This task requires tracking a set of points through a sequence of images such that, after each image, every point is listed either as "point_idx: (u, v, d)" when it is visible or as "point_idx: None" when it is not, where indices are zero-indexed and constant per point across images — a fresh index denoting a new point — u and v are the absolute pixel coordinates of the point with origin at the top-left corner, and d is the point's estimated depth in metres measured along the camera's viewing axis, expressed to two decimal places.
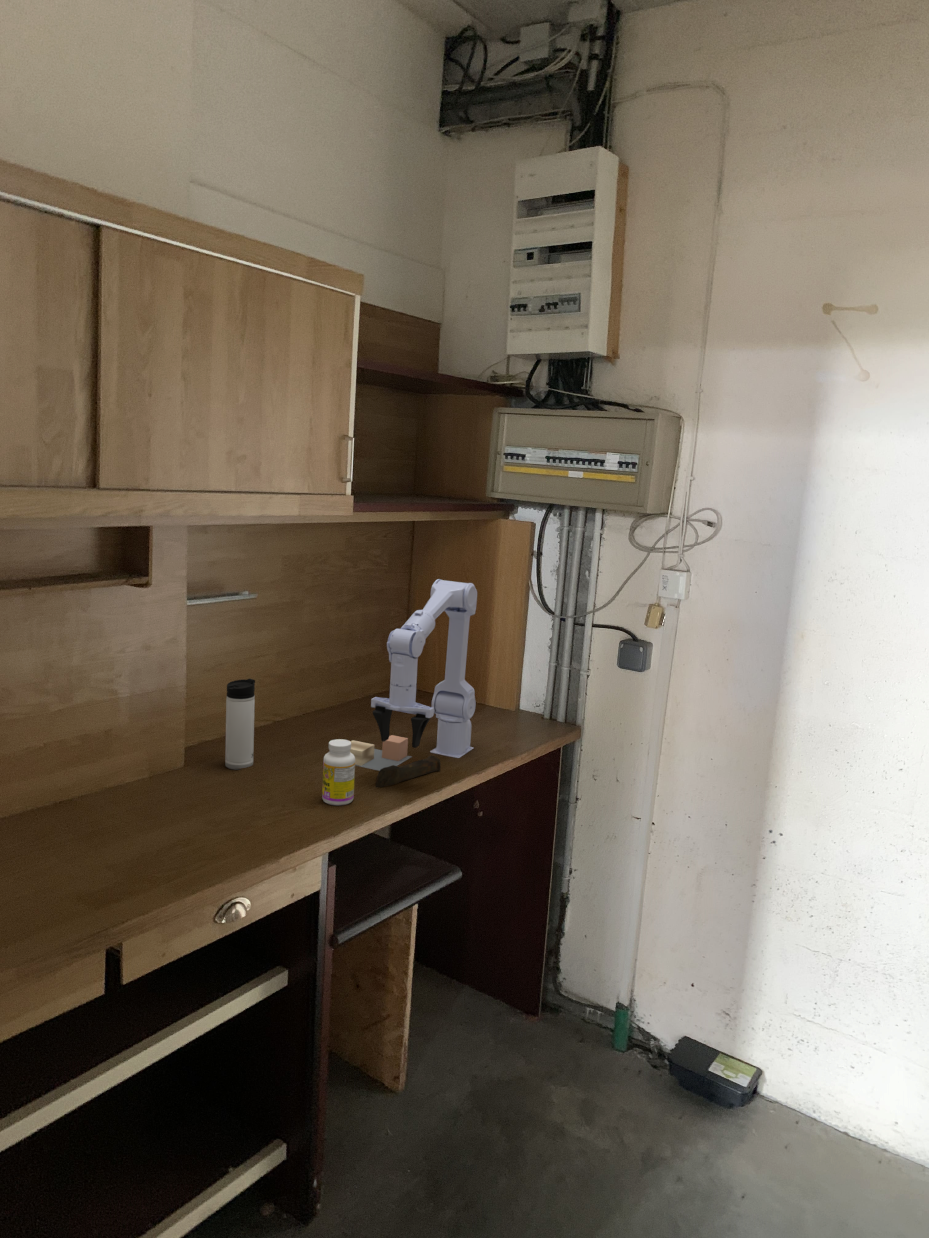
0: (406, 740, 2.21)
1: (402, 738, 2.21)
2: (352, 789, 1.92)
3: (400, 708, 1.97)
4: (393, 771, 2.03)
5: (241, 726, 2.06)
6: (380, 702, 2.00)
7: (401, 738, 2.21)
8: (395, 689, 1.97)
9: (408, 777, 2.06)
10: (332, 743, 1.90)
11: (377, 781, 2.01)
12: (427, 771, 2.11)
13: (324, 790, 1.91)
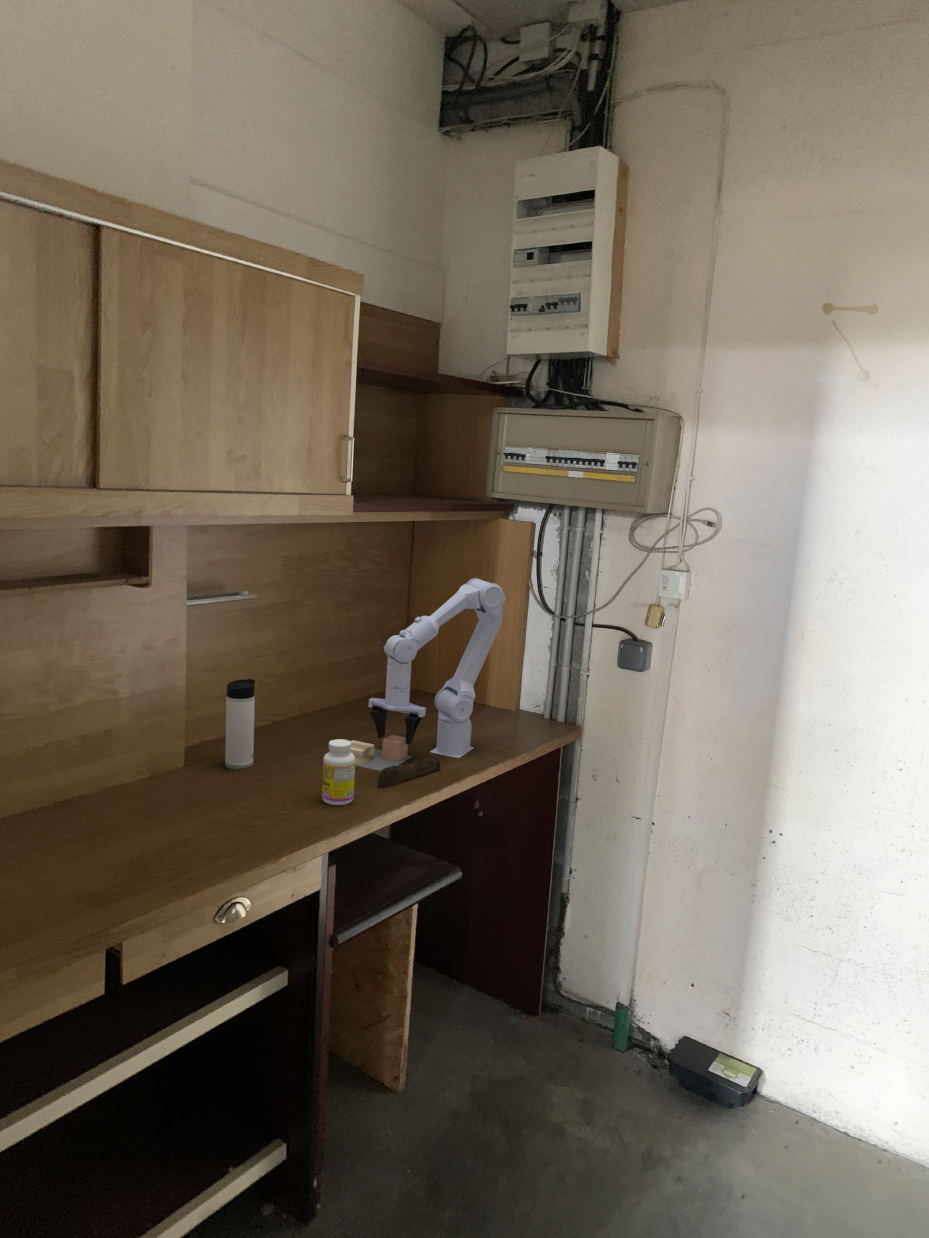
0: None
1: (402, 738, 2.21)
2: (352, 789, 1.92)
3: (395, 708, 2.16)
4: (394, 772, 2.02)
5: (241, 726, 2.06)
6: (377, 702, 2.19)
7: (401, 738, 2.21)
8: (390, 691, 2.16)
9: (409, 777, 2.06)
10: (332, 743, 1.90)
11: (379, 781, 2.00)
12: (427, 771, 2.11)
13: (324, 790, 1.91)
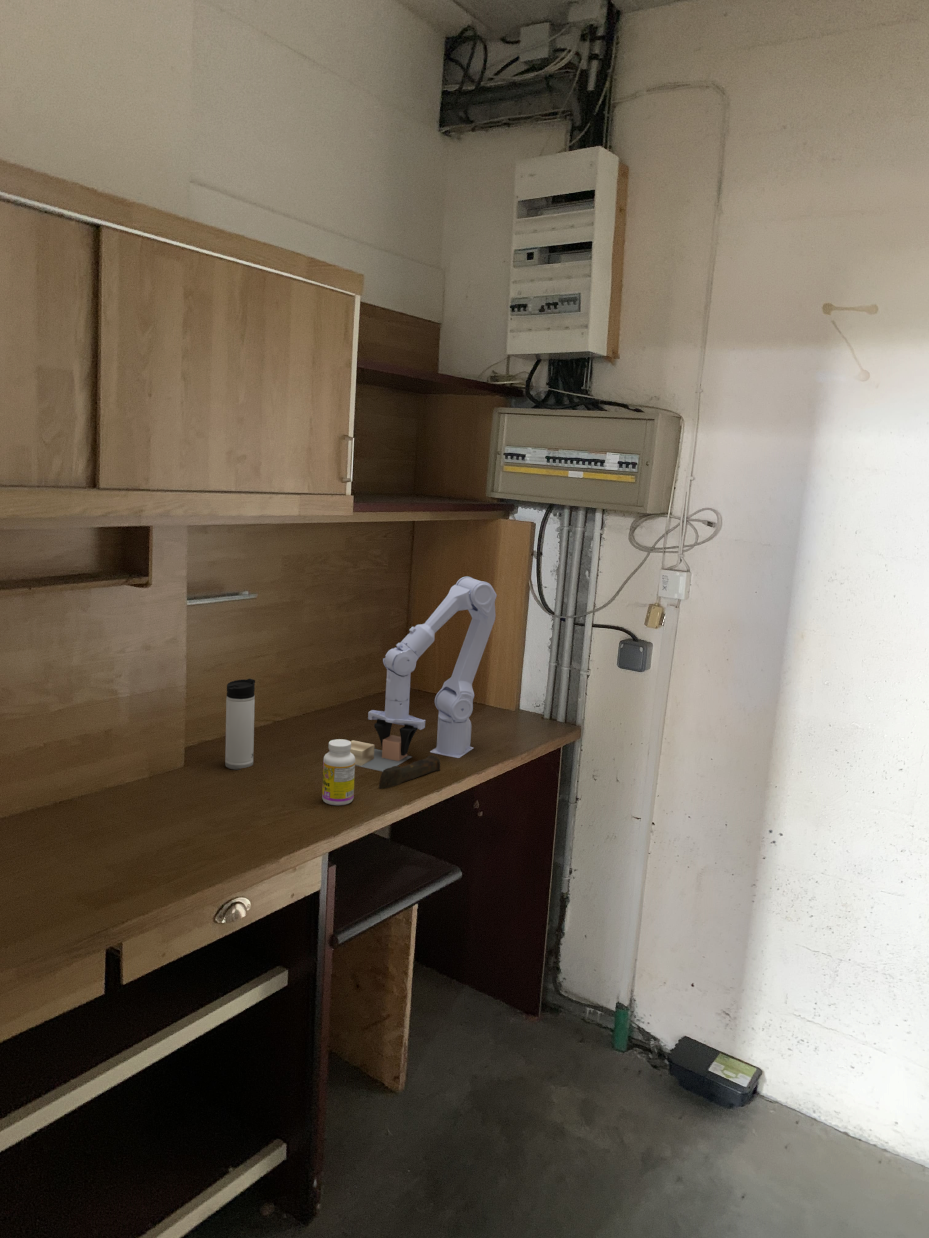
0: None
1: None
2: (352, 789, 1.92)
3: (394, 720, 2.16)
4: (395, 772, 2.02)
5: (241, 726, 2.06)
6: (376, 715, 2.20)
7: None
8: (390, 703, 2.17)
9: (410, 777, 2.06)
10: (332, 743, 1.90)
11: (380, 782, 2.00)
12: (427, 771, 2.11)
13: (324, 790, 1.91)
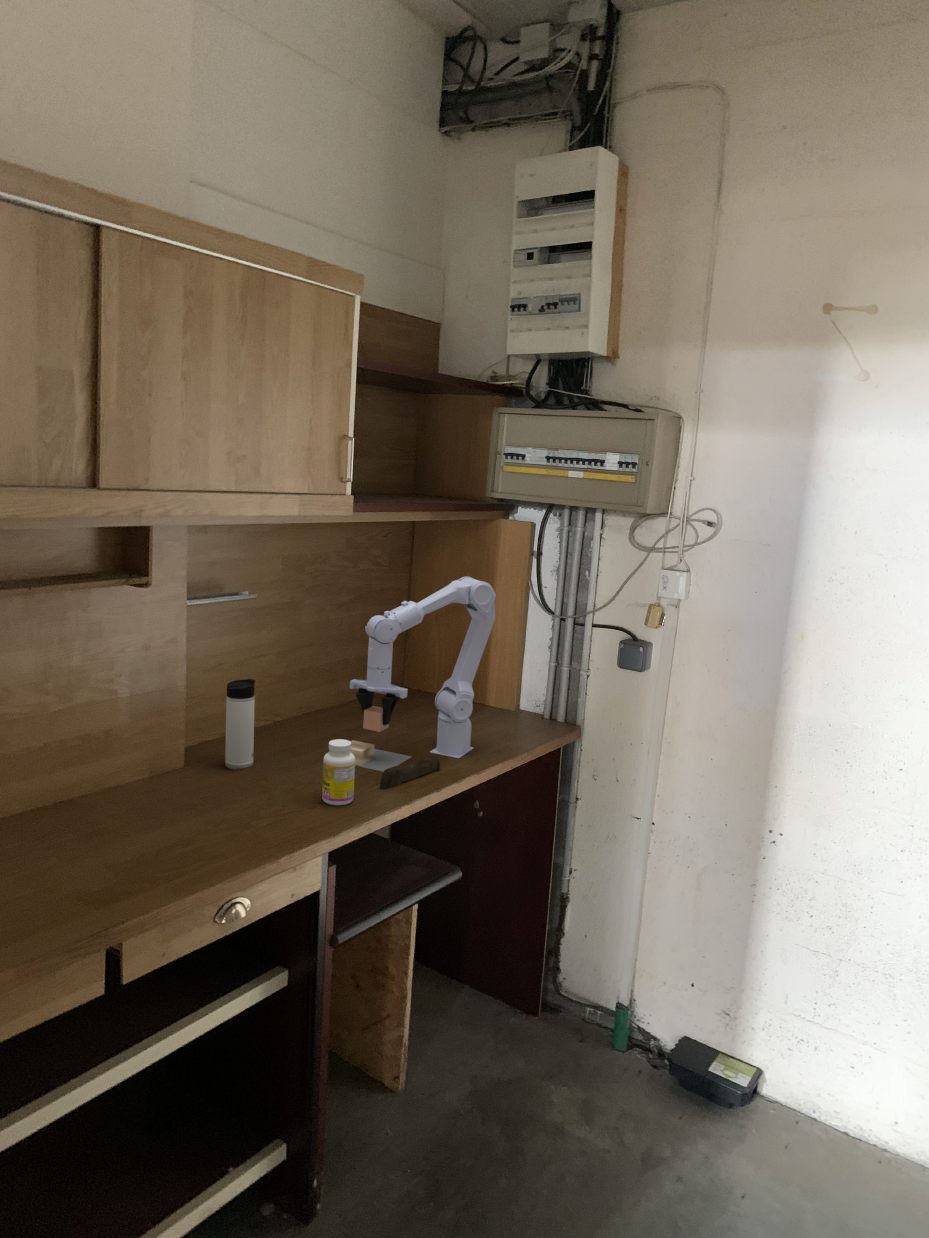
0: None
1: None
2: (352, 789, 1.92)
3: (376, 689, 2.13)
4: (396, 772, 2.02)
5: (241, 726, 2.06)
6: (358, 684, 2.17)
7: None
8: (372, 671, 2.13)
9: (410, 777, 2.06)
10: (332, 743, 1.90)
11: (381, 782, 2.00)
12: (427, 771, 2.11)
13: (324, 790, 1.91)
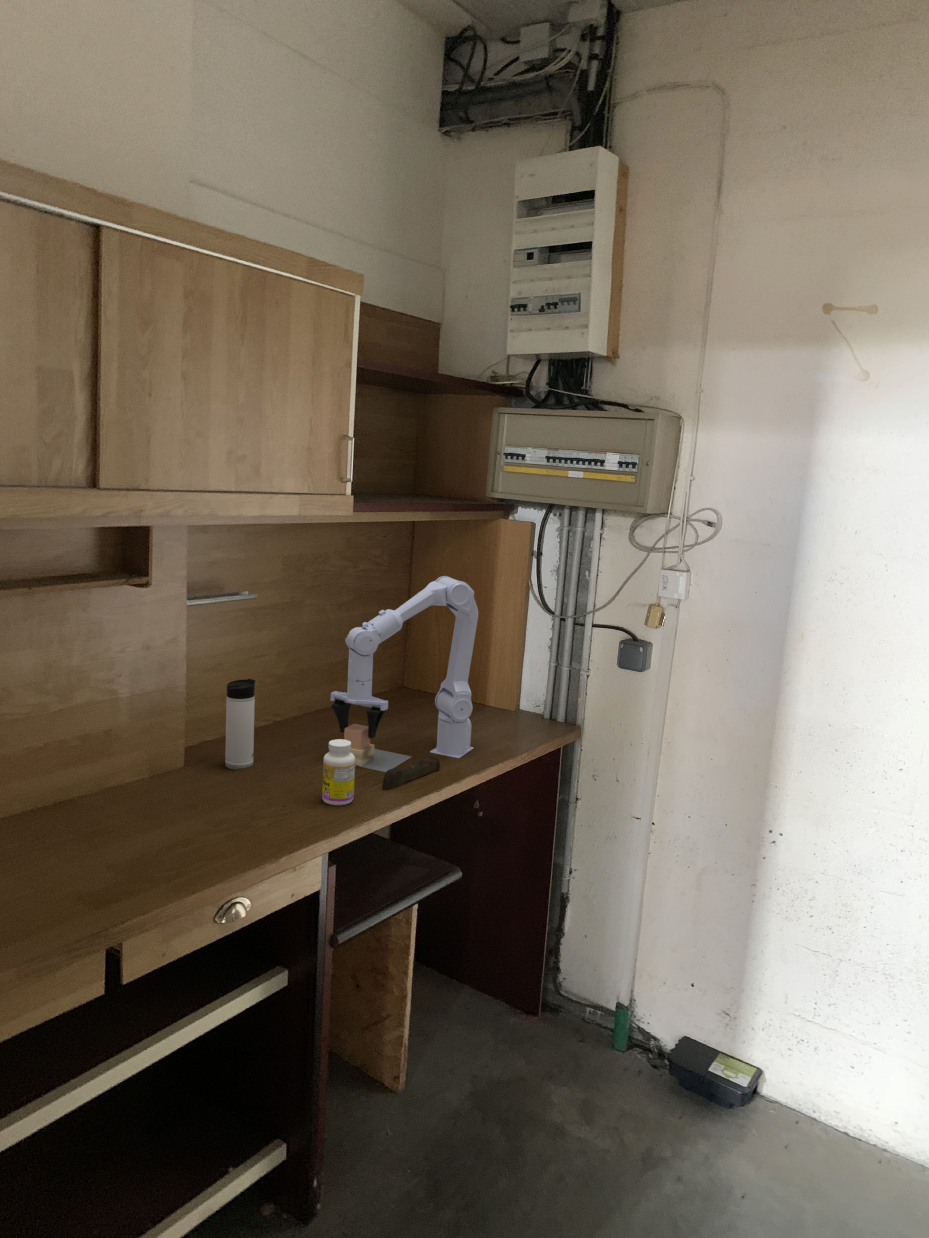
0: None
1: (365, 727, 2.17)
2: (352, 789, 1.92)
3: (356, 701, 2.12)
4: (398, 773, 2.02)
5: (241, 726, 2.06)
6: (339, 696, 2.15)
7: (363, 727, 2.17)
8: (352, 684, 2.12)
9: (411, 778, 2.06)
10: (332, 743, 1.90)
11: (384, 783, 2.00)
12: (428, 771, 2.11)
13: (324, 790, 1.91)
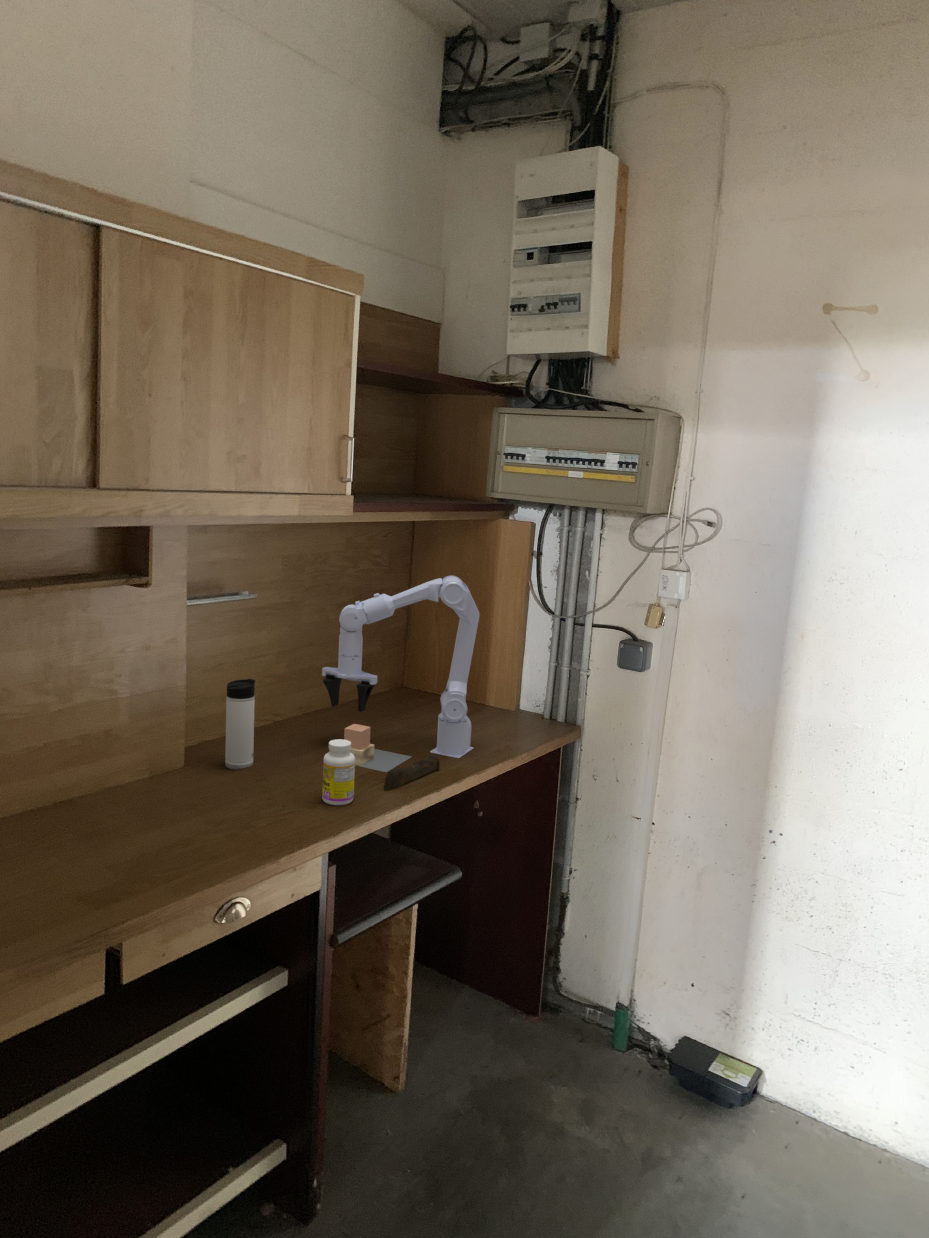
0: (368, 729, 2.17)
1: (365, 727, 2.17)
2: (352, 789, 1.92)
3: (347, 676, 2.20)
4: (399, 773, 2.02)
5: (241, 726, 2.06)
6: (330, 671, 2.24)
7: (363, 727, 2.17)
8: (342, 659, 2.20)
9: (412, 778, 2.06)
10: (332, 743, 1.90)
11: (385, 784, 1.99)
12: (428, 771, 2.11)
13: (324, 790, 1.91)
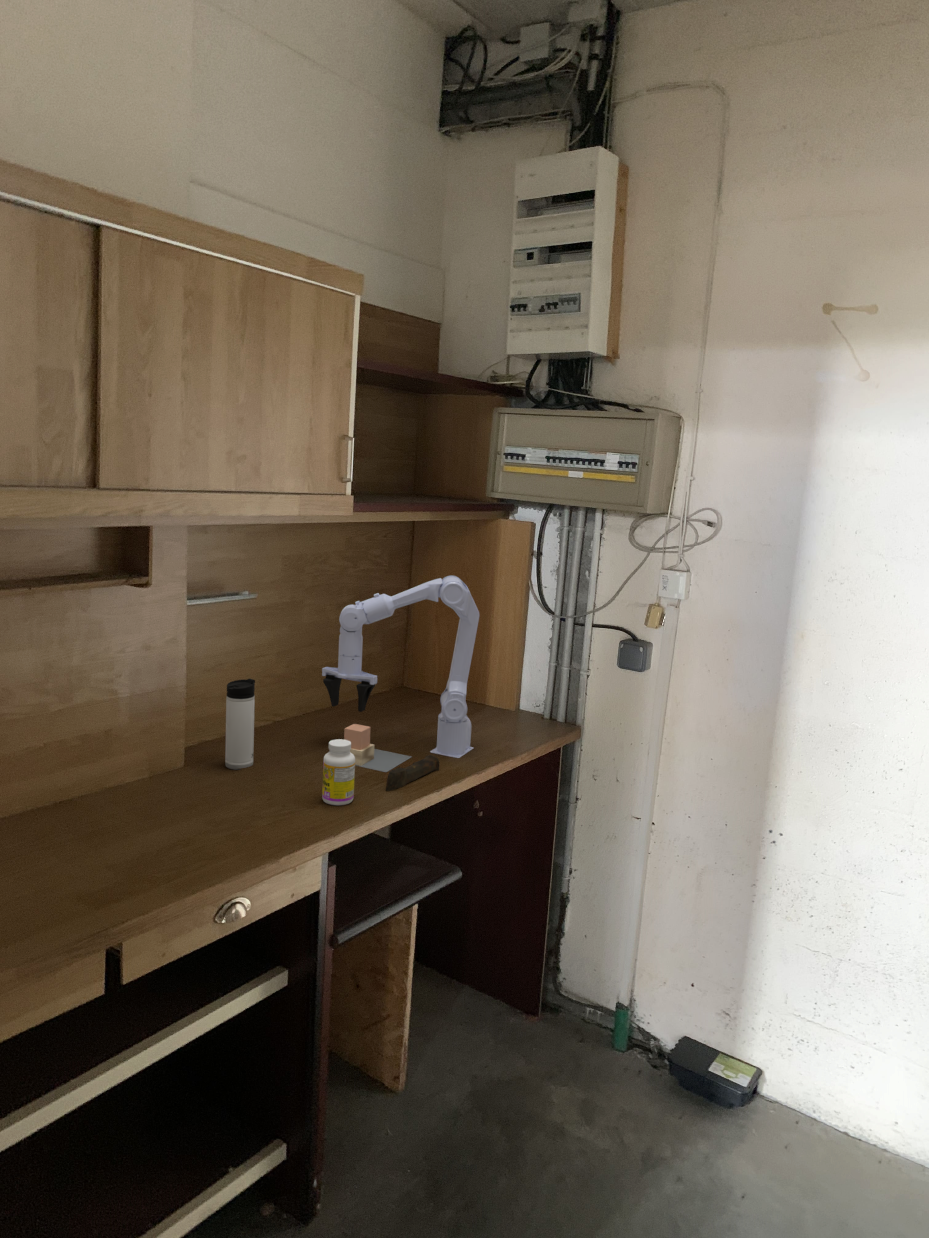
0: (368, 729, 2.17)
1: (365, 727, 2.17)
2: (352, 789, 1.92)
3: (347, 676, 2.20)
4: (401, 773, 2.01)
5: (241, 726, 2.06)
6: (330, 671, 2.24)
7: (363, 727, 2.17)
8: (342, 659, 2.20)
9: (413, 778, 2.06)
10: (332, 743, 1.90)
11: (387, 784, 1.99)
12: (428, 771, 2.11)
13: (324, 790, 1.91)
